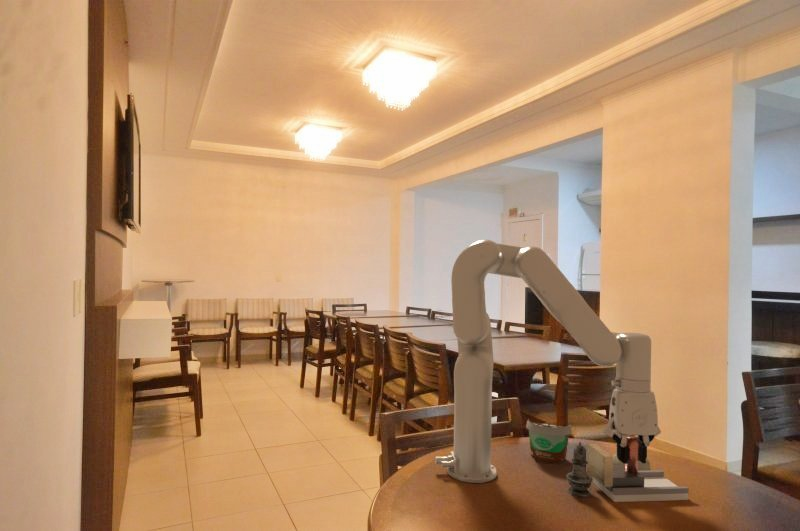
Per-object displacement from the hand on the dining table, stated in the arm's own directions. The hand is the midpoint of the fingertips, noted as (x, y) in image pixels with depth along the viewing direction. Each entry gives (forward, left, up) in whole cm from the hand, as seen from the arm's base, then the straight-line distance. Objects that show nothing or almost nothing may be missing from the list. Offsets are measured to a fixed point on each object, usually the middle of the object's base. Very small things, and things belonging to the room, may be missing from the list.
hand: (631, 460), depth 116 cm
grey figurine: (-13, 0, -7) cm, 15 cm away
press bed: (+2, 0, -7) cm, 8 cm away
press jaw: (-4, 0, -5) cm, 7 cm away
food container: (-13, +19, -7) cm, 24 cm away
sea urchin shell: (+7, +12, -8) cm, 16 cm away
